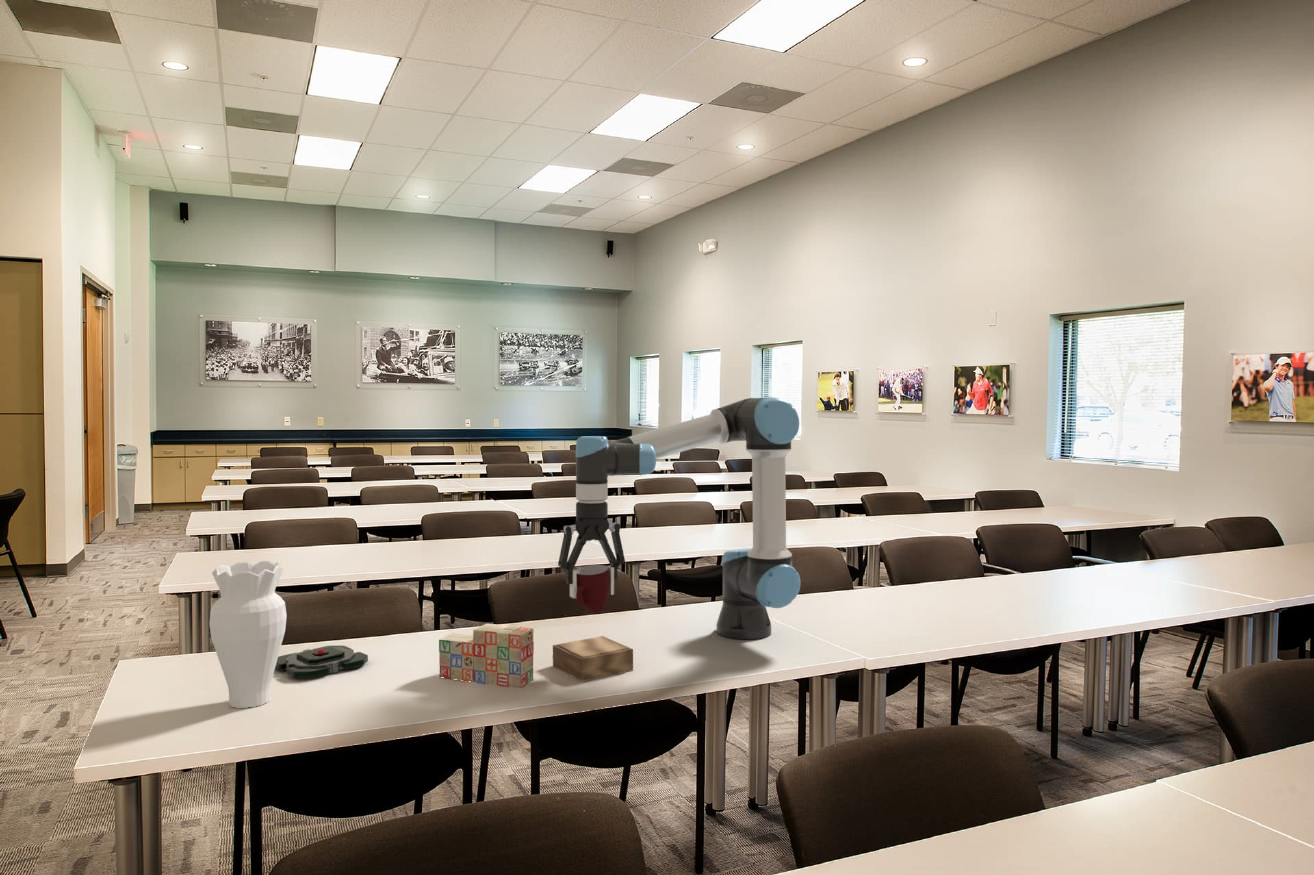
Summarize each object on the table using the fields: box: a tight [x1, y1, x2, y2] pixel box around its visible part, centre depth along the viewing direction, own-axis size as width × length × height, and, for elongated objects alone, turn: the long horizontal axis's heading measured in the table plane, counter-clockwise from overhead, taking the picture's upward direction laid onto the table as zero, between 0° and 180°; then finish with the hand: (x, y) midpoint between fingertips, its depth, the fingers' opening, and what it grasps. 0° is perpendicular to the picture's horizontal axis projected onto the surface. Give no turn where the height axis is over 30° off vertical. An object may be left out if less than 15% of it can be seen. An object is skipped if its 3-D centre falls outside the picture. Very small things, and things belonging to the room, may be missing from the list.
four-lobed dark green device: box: [275, 644, 369, 679], centre depth 203 cm, size 18×18×5 cm
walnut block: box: [552, 635, 634, 682], centre depth 202 cm, size 14×14×5 cm
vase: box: [208, 560, 288, 709], centre depth 178 cm, size 15×15×29 cm
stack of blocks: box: [438, 623, 535, 689], centre depth 193 cm, size 21×6×12 cm, turn 71°
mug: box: [575, 564, 610, 614], centre depth 201 cm, size 11×8×10 cm
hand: (592, 595), depth 201 cm, fingers closed on mug, 9 cm apart
